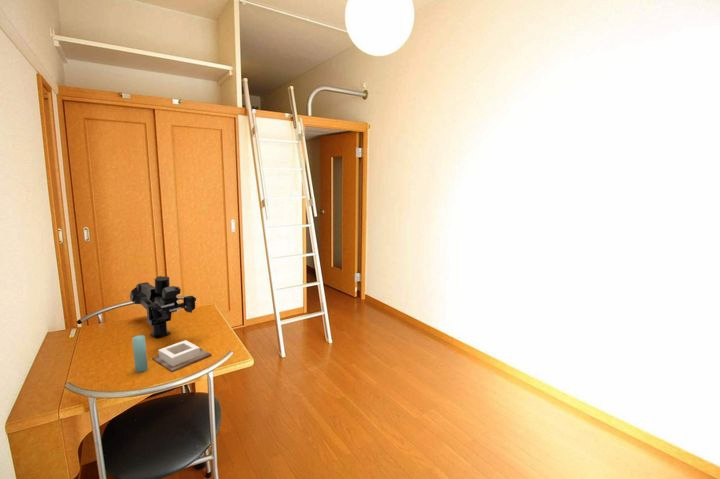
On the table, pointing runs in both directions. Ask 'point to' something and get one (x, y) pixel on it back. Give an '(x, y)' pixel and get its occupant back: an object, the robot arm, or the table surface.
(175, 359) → the socket
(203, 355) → the base board
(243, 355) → the table surface
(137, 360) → the teal peg
